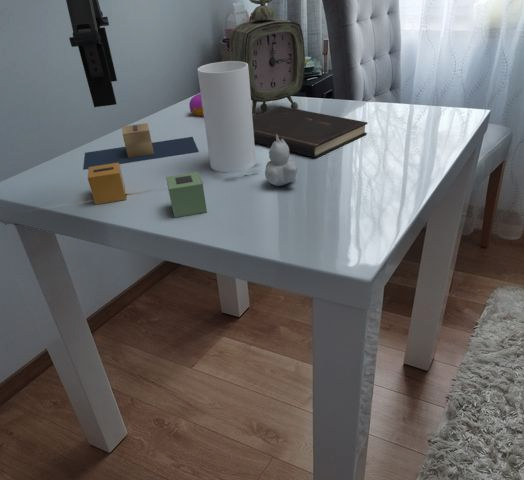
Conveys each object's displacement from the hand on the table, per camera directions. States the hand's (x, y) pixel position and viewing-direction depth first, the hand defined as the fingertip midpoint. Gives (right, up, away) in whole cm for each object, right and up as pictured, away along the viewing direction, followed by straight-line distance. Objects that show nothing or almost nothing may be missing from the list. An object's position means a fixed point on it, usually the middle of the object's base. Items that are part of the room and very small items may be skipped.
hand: (106, 92), depth 67 cm
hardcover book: (+28, +9, +34) cm, 45 cm away
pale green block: (+9, -12, +11) cm, 19 cm away
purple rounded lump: (+9, +21, +51) cm, 57 cm away
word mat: (-3, +4, +32) cm, 33 cm away
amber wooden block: (-5, -9, +17) cm, 20 cm away
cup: (+16, -1, +24) cm, 29 cm away
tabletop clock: (+22, +20, +49) cm, 57 cm away
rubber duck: (+24, -7, +16) cm, 30 cm away
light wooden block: (-3, +5, +32) cm, 33 cm away
